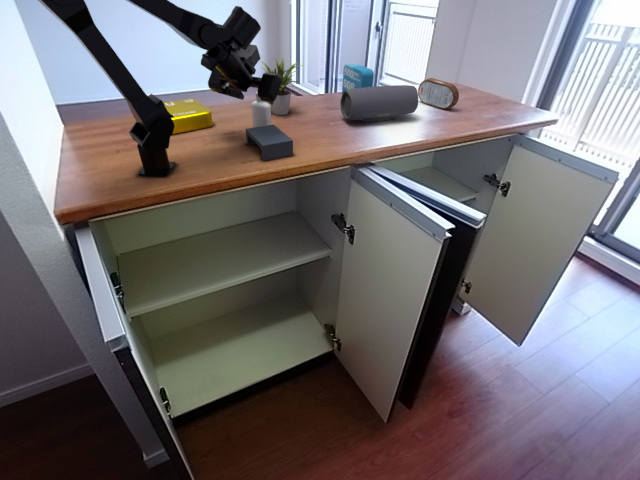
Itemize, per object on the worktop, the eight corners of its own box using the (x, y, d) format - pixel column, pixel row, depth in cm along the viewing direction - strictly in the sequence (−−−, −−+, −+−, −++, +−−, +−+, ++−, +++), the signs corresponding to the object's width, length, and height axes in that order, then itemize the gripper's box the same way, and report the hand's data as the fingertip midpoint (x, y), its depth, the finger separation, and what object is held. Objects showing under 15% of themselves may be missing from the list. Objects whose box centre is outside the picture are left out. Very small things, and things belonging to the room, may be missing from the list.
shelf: (263, 161, 91) (262, 145, 89) (246, 143, 99) (245, 128, 97) (293, 155, 94) (293, 140, 92) (274, 138, 103) (273, 124, 100)
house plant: (311, 118, 116) (312, 62, 106) (268, 123, 112) (265, 64, 102) (296, 104, 127) (296, 52, 117) (256, 108, 122) (253, 53, 112)
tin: (455, 110, 127) (462, 85, 122) (450, 112, 126) (457, 86, 121) (419, 99, 136) (424, 75, 131) (414, 101, 134) (419, 76, 129)
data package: (341, 99, 133) (343, 63, 126) (351, 98, 135) (354, 62, 128) (359, 109, 125) (363, 71, 118) (370, 108, 127) (374, 70, 119)
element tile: (163, 136, 101) (159, 119, 98) (147, 120, 111) (143, 103, 108) (215, 126, 108) (213, 109, 106) (196, 111, 118) (193, 96, 115)
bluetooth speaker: (401, 111, 125) (406, 80, 119) (416, 121, 118) (422, 88, 112) (338, 117, 118) (340, 84, 112) (350, 127, 111) (353, 93, 105)
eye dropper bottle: (266, 126, 110) (264, 83, 102) (273, 133, 106) (271, 89, 98) (252, 128, 108) (248, 85, 101) (258, 135, 104) (255, 90, 97)
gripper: (276, 37, 83) (298, 78, 98) (207, 29, 89) (237, 69, 104) (261, 82, 82) (285, 116, 97) (192, 71, 88) (225, 105, 103)
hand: (257, 100), depth 100 cm, fingers open, 9 cm apart
